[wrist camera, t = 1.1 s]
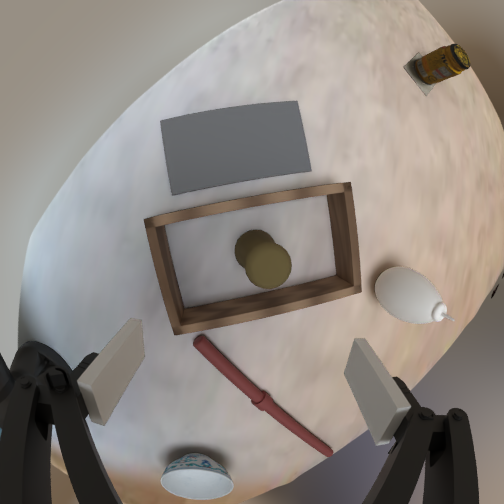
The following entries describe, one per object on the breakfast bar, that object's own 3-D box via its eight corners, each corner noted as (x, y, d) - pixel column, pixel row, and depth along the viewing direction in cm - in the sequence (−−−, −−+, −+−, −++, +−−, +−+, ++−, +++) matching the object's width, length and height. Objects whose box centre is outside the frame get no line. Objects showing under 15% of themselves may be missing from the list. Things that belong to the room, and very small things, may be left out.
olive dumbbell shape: (240, 225, 39) (251, 234, 28) (280, 235, 40) (305, 248, 29) (230, 266, 40) (236, 290, 29) (270, 274, 41) (289, 301, 30)
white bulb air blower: (356, 283, 43) (426, 327, 25) (386, 250, 43) (463, 278, 25) (378, 311, 45) (443, 358, 27) (405, 280, 45) (476, 314, 27)
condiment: (439, 79, 38) (476, 64, 27) (425, 96, 39) (467, 81, 27) (418, 52, 37) (453, 33, 25) (402, 67, 37) (441, 46, 25)
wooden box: (179, 317, 40) (174, 335, 34) (154, 216, 37) (143, 219, 31) (343, 280, 42) (361, 292, 37) (332, 183, 39) (350, 182, 34)
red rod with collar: (190, 340, 41) (189, 350, 38) (205, 329, 41) (205, 339, 38) (322, 452, 52) (326, 460, 48) (332, 445, 52) (337, 454, 48)
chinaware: (159, 439, 44) (155, 466, 37) (231, 442, 46) (234, 469, 39) (168, 473, 47) (166, 497, 39) (229, 476, 49) (232, 499, 41)
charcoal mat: (172, 195, 36) (171, 195, 36) (160, 121, 34) (160, 120, 34) (310, 171, 39) (311, 170, 38) (296, 102, 36) (297, 100, 36)
